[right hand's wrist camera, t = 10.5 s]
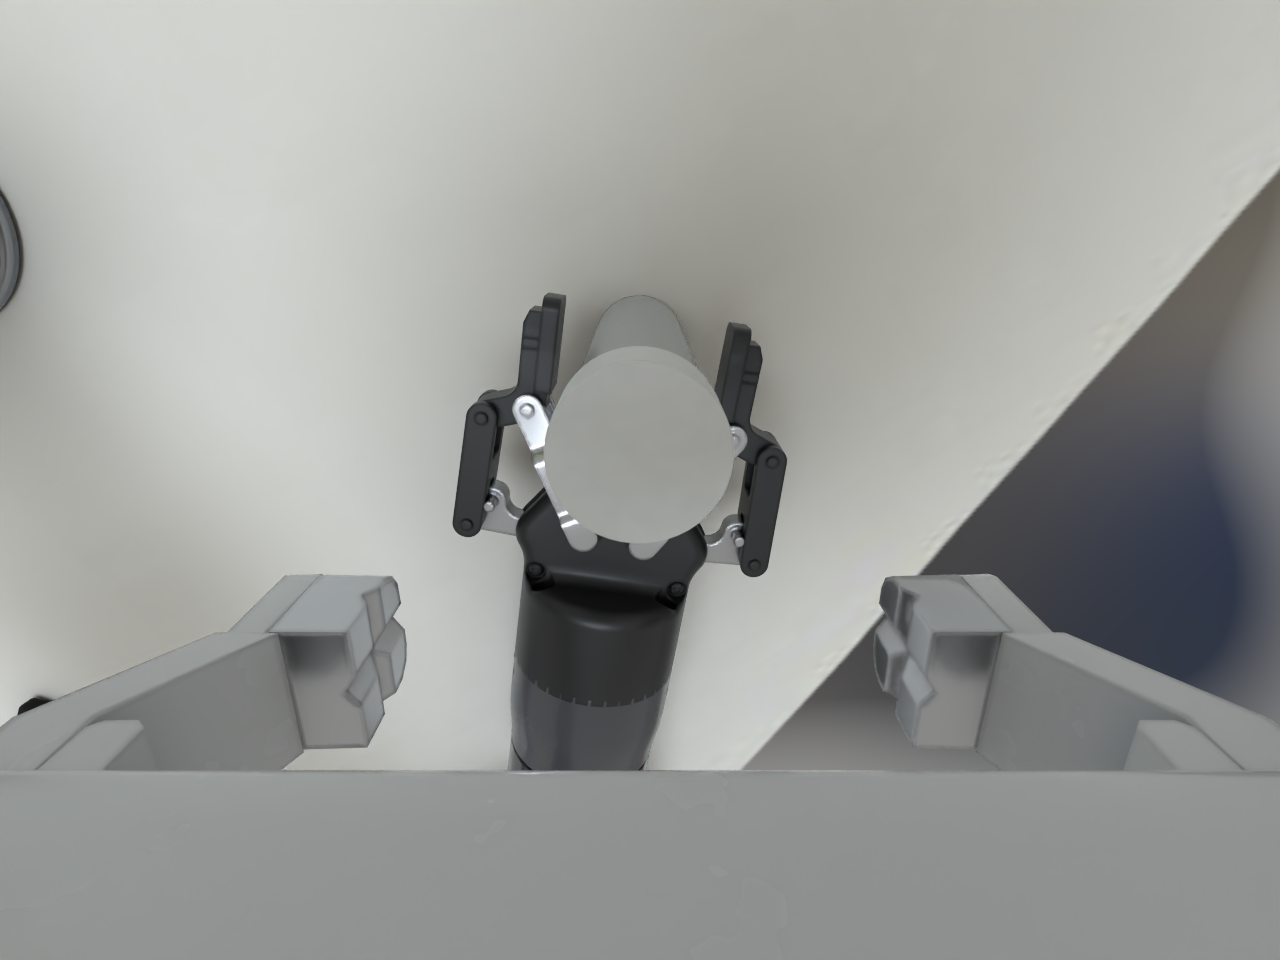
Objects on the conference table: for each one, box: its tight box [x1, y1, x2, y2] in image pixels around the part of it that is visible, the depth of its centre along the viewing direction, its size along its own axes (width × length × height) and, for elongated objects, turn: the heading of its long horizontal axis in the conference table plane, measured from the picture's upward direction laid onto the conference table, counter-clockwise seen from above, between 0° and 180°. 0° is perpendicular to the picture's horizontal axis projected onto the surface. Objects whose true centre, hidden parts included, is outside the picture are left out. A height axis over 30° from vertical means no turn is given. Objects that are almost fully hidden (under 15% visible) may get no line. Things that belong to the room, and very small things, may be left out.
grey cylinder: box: [582, 296, 697, 368], centre depth 26 cm, size 4×4×18 cm
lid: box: [544, 346, 734, 543], centre depth 18 cm, size 5×5×2 cm
